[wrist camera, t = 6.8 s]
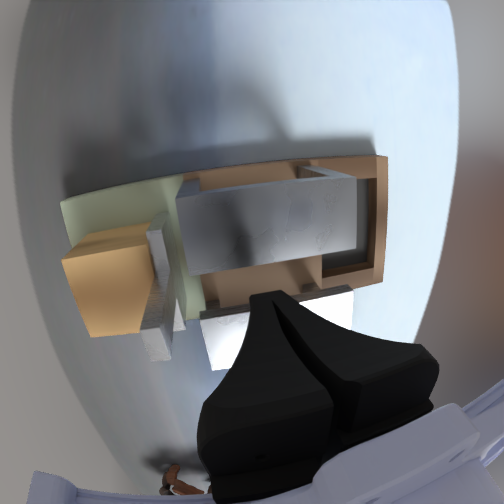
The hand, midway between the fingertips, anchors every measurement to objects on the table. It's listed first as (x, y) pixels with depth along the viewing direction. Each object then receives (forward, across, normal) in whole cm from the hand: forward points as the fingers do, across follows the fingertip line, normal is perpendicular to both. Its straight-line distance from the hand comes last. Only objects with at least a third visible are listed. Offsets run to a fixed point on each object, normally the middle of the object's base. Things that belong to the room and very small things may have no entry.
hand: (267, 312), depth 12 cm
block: (+8, +8, 0) cm, 11 cm away
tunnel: (+8, -1, 0) cm, 8 cm away
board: (+9, 0, 0) cm, 9 cm away
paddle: (+8, +5, 0) cm, 9 cm away
